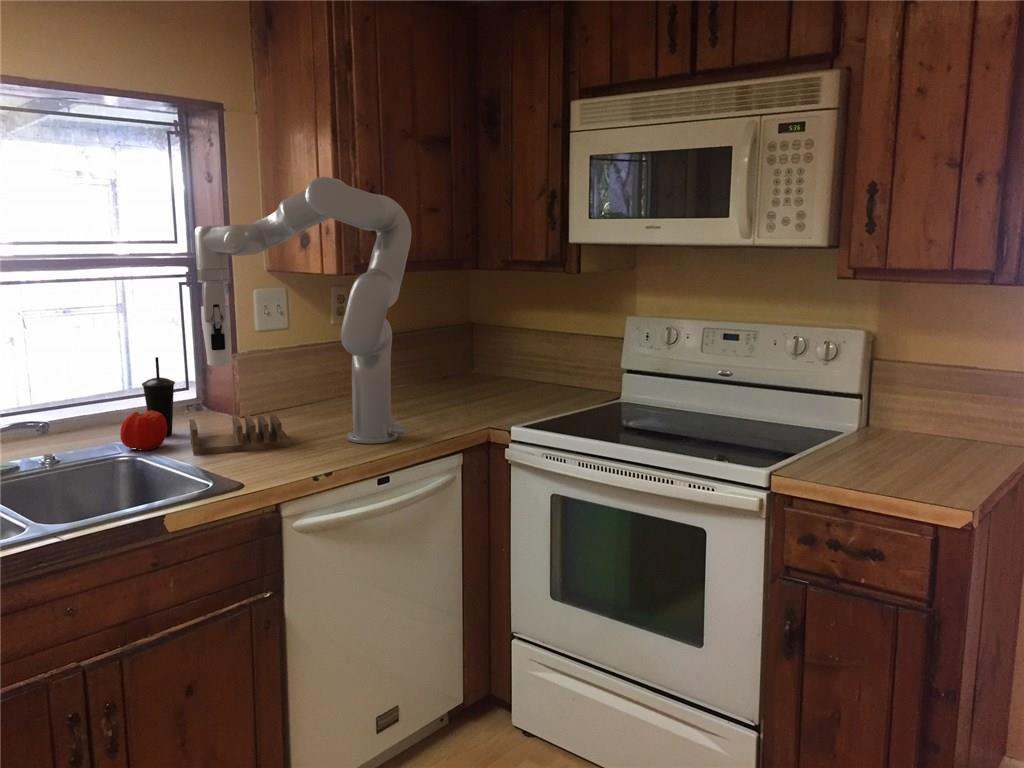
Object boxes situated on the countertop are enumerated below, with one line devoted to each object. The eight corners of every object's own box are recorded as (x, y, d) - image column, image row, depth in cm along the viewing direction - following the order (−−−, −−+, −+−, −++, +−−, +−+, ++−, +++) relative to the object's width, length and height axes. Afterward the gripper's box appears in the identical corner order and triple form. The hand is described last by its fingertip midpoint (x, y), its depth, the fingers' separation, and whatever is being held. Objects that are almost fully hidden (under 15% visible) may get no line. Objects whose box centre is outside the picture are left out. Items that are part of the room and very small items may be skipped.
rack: (283, 435, 217) (282, 412, 216) (290, 446, 207) (289, 422, 205) (190, 443, 209) (189, 419, 208) (193, 455, 198) (192, 429, 197)
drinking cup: (180, 431, 221) (175, 354, 217) (175, 438, 213) (170, 359, 210) (148, 432, 219) (143, 355, 215) (142, 439, 212) (137, 360, 208)
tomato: (158, 440, 211) (155, 406, 210) (176, 449, 203) (173, 413, 202) (113, 447, 204) (110, 412, 203) (130, 456, 196) (127, 419, 195)
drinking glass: (223, 368, 212) (219, 307, 209) (199, 367, 214) (195, 307, 211) (237, 363, 219) (234, 305, 216) (214, 363, 220) (210, 304, 217)
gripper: (196, 274, 219) (200, 344, 222) (198, 278, 203) (203, 353, 206) (226, 274, 221) (230, 343, 225) (231, 277, 206) (236, 351, 209)
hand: (217, 347), depth 215 cm, fingers closed on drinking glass, 5 cm apart
